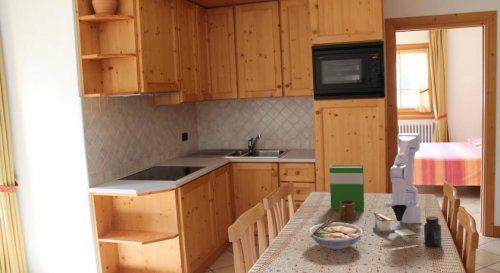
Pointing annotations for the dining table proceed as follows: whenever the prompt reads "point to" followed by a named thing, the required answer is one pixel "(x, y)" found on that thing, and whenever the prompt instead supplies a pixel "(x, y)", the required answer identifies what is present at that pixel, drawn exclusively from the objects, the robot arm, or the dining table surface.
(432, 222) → the supplement bottle
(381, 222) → the plug
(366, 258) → the dining table surface
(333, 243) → the ramen bowl
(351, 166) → the green cereal box
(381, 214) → the orange flat bar
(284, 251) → the dining table surface
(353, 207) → the mug
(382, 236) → the socket board
